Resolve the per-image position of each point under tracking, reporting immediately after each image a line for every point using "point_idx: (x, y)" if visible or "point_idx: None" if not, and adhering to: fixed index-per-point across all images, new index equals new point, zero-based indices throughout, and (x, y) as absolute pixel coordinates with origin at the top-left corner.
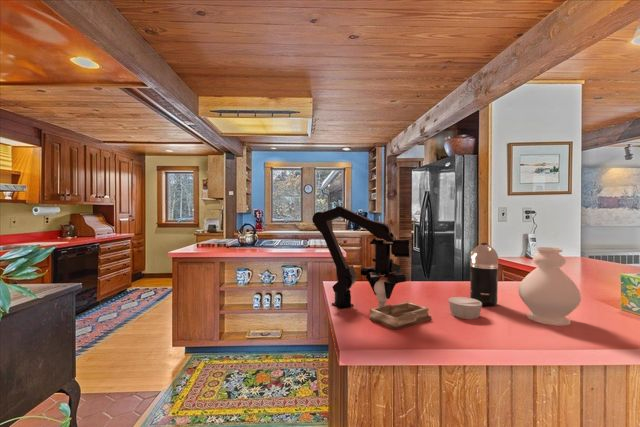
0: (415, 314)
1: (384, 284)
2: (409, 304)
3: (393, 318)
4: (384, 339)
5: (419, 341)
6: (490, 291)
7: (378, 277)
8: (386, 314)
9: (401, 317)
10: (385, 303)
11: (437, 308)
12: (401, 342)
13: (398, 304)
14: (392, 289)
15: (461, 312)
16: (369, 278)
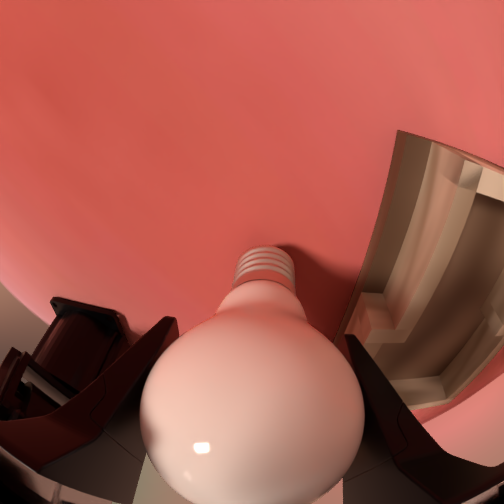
0: None
1: (347, 501)
2: (484, 191)
3: (439, 403)
4: (422, 408)
5: (495, 366)
6: None
7: (76, 477)
8: (409, 407)
9: (465, 387)
10: (290, 278)
11: None
12: (459, 393)
13: (427, 287)
14: (406, 416)
15: None
16: (129, 499)
